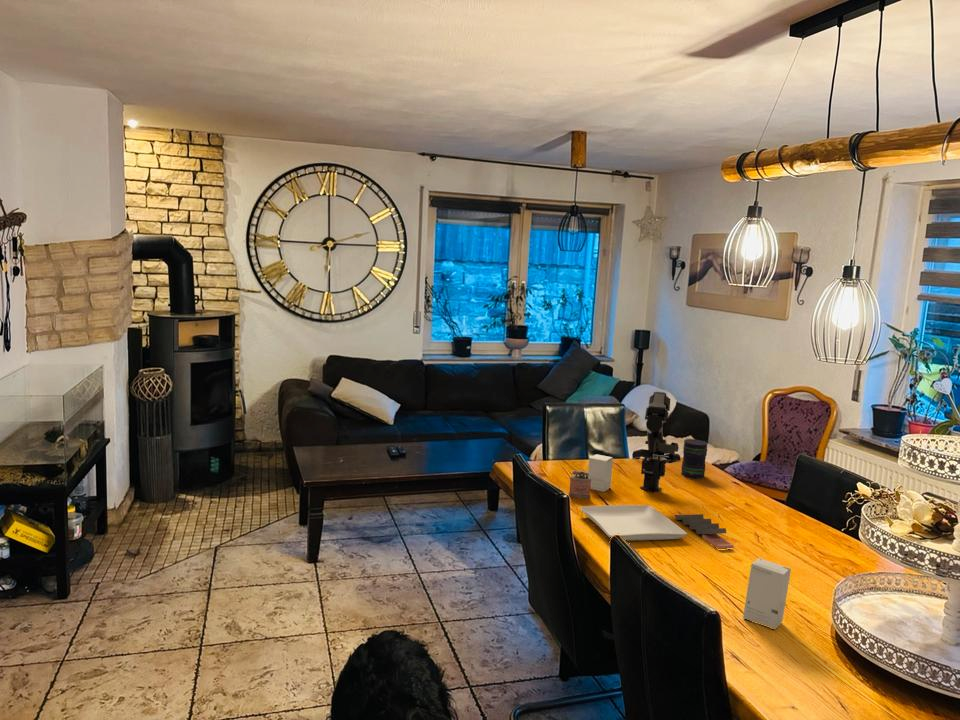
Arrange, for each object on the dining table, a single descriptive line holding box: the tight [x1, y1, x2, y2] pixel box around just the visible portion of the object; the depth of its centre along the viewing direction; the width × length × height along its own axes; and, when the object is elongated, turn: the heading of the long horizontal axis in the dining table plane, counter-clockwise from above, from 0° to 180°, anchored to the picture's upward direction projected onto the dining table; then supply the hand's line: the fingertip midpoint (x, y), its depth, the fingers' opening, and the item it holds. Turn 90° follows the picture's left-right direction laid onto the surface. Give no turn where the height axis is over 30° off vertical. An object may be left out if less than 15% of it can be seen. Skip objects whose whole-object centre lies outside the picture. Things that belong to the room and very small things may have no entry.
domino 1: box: [674, 513, 705, 521], centre depth 243 cm, size 2×5×10 cm
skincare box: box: [742, 557, 792, 630], centre depth 175 cm, size 8×6×15 cm
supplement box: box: [587, 453, 614, 493], centre depth 278 cm, size 7×7×13 cm
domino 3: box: [688, 522, 720, 531], centre depth 234 cm, size 2×5×10 cm
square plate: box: [579, 504, 688, 542], centre depth 236 cm, size 27×27×4 cm
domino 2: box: [682, 518, 713, 526], centre depth 239 cm, size 2×5×10 cm
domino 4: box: [695, 527, 727, 535], centre depth 230 cm, size 2×5×10 cm
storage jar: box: [680, 438, 708, 480], centre depth 303 cm, size 10×10×15 cm
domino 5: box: [701, 534, 734, 549], centre depth 226 cm, size 2×5×10 cm
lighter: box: [568, 470, 592, 499], centre depth 266 cm, size 8×3×10 cm, turn 84°
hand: (658, 479), depth 259 cm, fingers closed
